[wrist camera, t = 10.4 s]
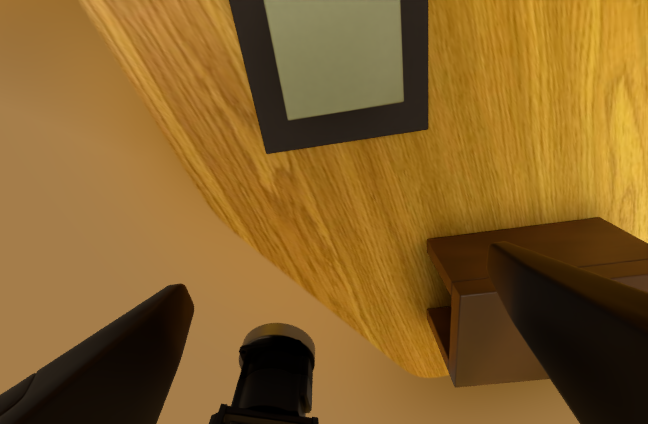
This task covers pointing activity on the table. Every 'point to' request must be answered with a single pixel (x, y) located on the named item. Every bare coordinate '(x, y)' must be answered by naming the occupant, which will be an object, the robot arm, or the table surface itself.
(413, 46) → the mat
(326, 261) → the table surface
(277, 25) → the block
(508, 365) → the block
